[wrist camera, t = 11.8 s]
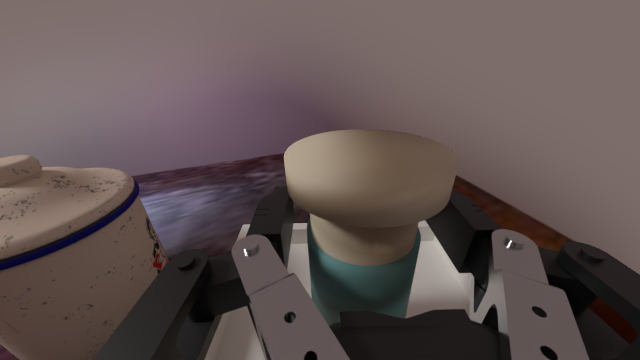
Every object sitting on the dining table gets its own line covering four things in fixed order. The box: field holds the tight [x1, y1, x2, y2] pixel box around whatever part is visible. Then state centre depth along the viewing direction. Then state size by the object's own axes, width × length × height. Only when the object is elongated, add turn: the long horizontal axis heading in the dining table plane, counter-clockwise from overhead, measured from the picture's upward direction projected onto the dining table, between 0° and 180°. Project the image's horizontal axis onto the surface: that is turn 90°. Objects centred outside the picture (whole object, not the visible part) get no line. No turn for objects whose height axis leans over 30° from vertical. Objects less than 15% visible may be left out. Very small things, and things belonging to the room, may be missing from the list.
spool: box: [284, 129, 458, 326], centre depth 11 cm, size 6×6×12 cm
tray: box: [204, 221, 473, 360], centre depth 14 cm, size 18×18×2 cm
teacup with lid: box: [0, 155, 169, 360], centre depth 15 cm, size 12×9×12 cm
